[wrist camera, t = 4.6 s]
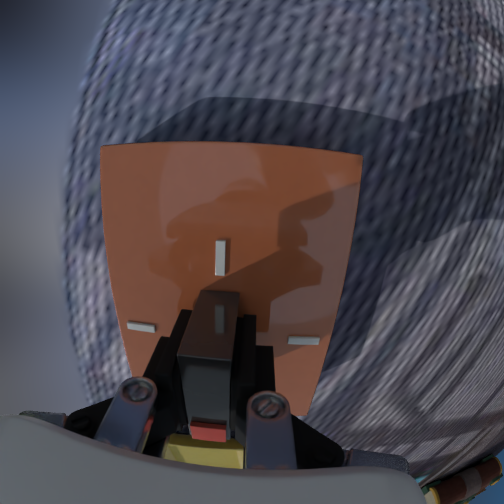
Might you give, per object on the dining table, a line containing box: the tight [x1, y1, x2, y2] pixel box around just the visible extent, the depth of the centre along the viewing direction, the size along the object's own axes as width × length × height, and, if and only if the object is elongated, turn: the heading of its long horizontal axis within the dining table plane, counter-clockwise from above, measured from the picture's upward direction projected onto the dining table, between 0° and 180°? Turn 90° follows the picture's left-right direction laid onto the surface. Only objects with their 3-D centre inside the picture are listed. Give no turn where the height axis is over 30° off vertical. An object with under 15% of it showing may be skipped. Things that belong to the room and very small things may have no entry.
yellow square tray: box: [164, 433, 243, 469], centre depth 20 cm, size 9×9×2 cm
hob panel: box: [100, 141, 363, 416], centre depth 13 cm, size 14×10×3 cm
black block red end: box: [177, 290, 240, 442], centre depth 10 cm, size 5×2×4 cm, turn 177°
